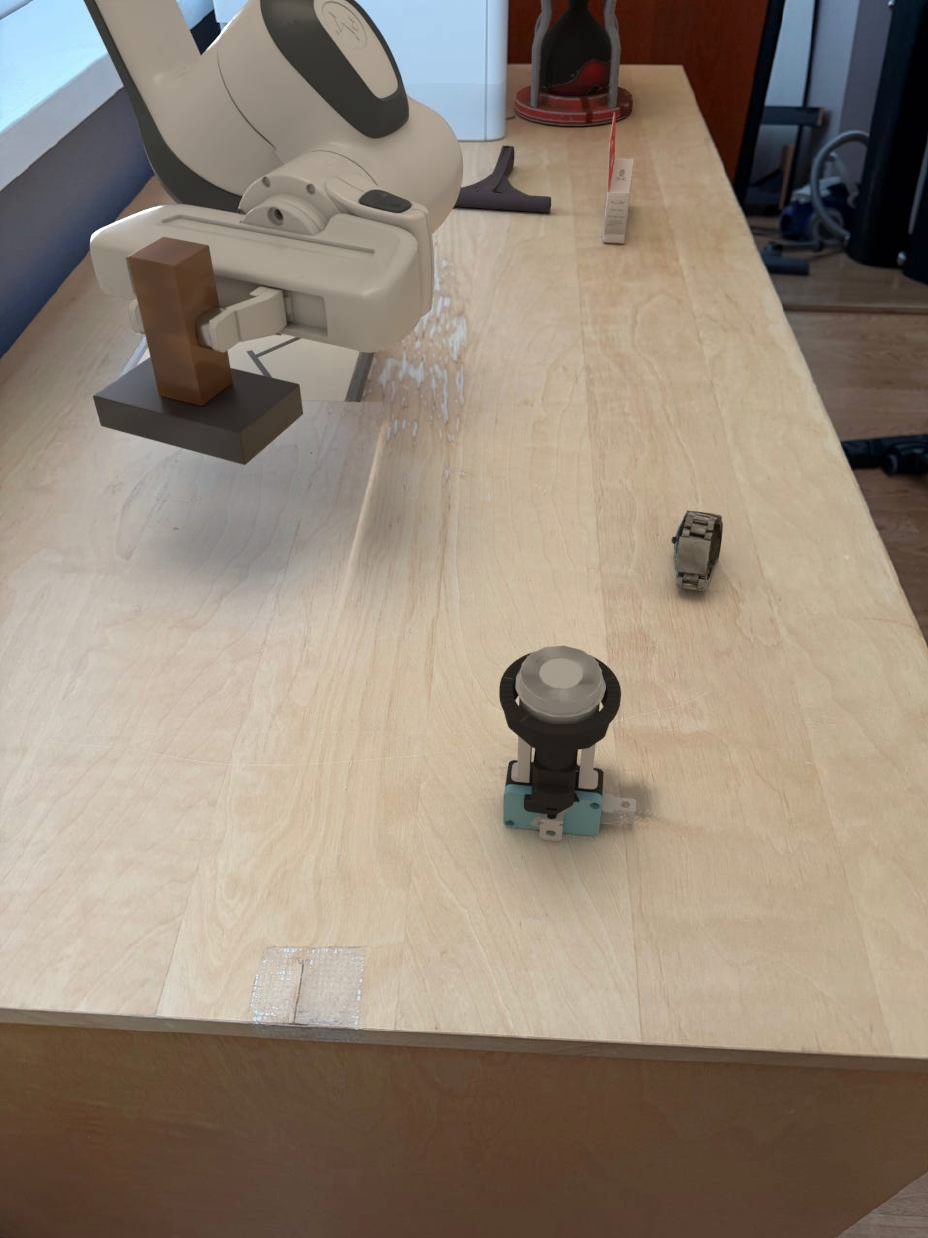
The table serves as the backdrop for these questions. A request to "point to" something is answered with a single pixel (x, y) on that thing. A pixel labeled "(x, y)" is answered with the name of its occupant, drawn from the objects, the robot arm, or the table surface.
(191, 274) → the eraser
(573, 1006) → the table surface
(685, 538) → the wristwatch
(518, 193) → the squeegee
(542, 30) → the hourglass
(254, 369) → the whiteboard
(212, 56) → the robot arm
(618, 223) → the ink cartridge box
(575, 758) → the push button
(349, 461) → the table surface
